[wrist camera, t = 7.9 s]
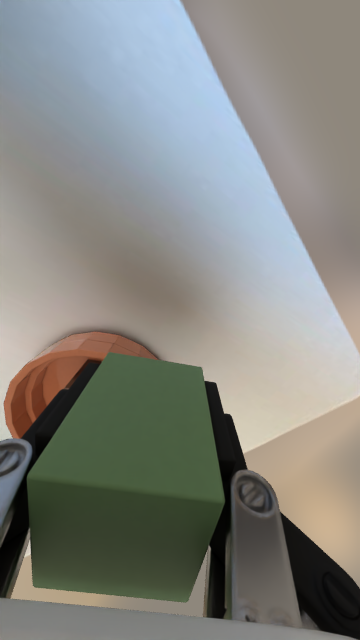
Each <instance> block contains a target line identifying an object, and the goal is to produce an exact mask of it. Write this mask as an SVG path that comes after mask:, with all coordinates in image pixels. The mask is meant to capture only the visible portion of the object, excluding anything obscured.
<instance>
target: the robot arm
mask: <svg viewBox="0 0 360 640" xmlns="http://www.w3.org/2000/svg"><path fill="white" fill-rule="evenodd" d="M99 366H100V364H96V363H88V364H87V366H86V367H85V368H84V370H83V371H82V372H81V374H80V375H79V376H78V377H77V379H76V380H75V381H74V383H73V384H72V385H71V387H70V388H69V389H68V390H67V389H62V390H60V391H59V392H58V393H57V395H56V396H55V397H54V398H53V399H52V401H51V402H50V403H49V404H48V406H47V407H46V408H45V409H44V410H43V412H42V413H41V414H40V415H39V417H38V418H37V419H36V420H35V421H34V423H33V424H32V425H31V426H30V428H29V429H28V430H27V431H26V433H25V434H24V435H23V436H22V437H21V439H17V438H13V439H6V440H3V441H0V640H360V589H359V587H358V586H357V584H356V583H355V582H354V580H353V579H352V578H351V577H350V576H349V575H348V574H347V573H346V572H345V571H344V570H343V569H342V568H341V567H340V566H339V565H338V564H337V563H336V562H335V561H334V560H333V559H331V558H330V557H329V556H328V555H327V554H326V553H325V552H323V550H322V549H321V548H319V547H318V546H317V545H316V544H315V543H314V542H313V541H312V540H311V539H310V538H309V537H307V536H306V535H305V534H304V533H303V532H302V531H301V530H300V529H298V527H296V526H295V525H294V524H293V523H292V522H291V521H290V520H289V519H288V518H286V516H284V515H283V514H282V513H281V512H280V510H279V504H278V500H277V497H276V494H275V492H274V490H273V488H272V487H271V485H270V484H269V483H268V482H267V481H266V480H265V479H264V478H263V477H262V476H260V475H259V474H257V473H255V472H253V471H249V470H248V469H247V466H246V462H245V459H244V456H243V452H242V449H241V446H240V442H239V439H238V435H237V432H236V429H235V425H234V422H233V419H232V416H231V415H230V414H224V412H223V408H222V404H221V400H220V396H219V392H218V388H217V385H216V383H215V382H209V381H204V382H205V388H206V394H207V400H208V405H209V411H210V417H211V423H212V428H213V434H214V440H215V446H216V451H217V457H218V463H219V469H220V474H221V480H222V486H223V492H224V497H225V503H224V506H223V509H222V512H221V514H220V517H219V520H218V522H217V525H216V528H215V530H214V533H213V536H212V538H211V541H210V544H209V546H208V553H207V554H208V555H207V567H206V582H205V595H204V610H203V617H196V616H186V615H176V614H167V613H156V612H146V611H135V610H125V609H115V608H104V607H94V606H84V605H83V606H82V605H72V604H63V603H52V602H42V601H30V600H19V599H10V598H11V595H12V592H13V589H14V586H15V583H16V580H17V577H18V573H19V570H20V567H21V564H22V561H23V558H24V555H25V552H26V549H27V546H28V543H29V540H30V525H29V507H28V490H27V476H28V474H29V472H30V470H31V469H32V467H33V466H34V464H35V463H36V461H37V460H38V458H39V457H40V455H41V454H42V452H43V451H44V449H45V448H46V446H47V445H48V443H49V442H50V440H51V439H52V437H53V436H54V434H55V433H56V431H57V430H58V428H59V426H60V425H61V423H62V422H63V420H64V419H65V417H66V416H67V414H68V413H69V411H70V410H71V408H72V407H73V405H74V404H75V402H76V401H77V399H78V398H79V396H80V395H81V393H82V392H83V390H84V389H85V387H86V385H87V384H88V382H89V381H90V379H91V378H92V376H93V375H94V373H95V372H96V370H97V369H98V367H99Z"/></svg>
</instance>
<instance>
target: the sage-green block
mask: <svg viewBox="0 0 360 640" xmlns="http://www.w3.org/2000/svg"><path fill="white" fill-rule="evenodd" d="M27 490H28V507H29V525H30V543H31V559H32V576H33V577H32V578H33V586H34V587H36V588H46V589H56V590H66V591H77V592H86V593H96V594H106V595H116V596H126V597H137V598H146V599H156V600H167V601H177V602H187V601H188V600H189V597H190V595H191V592H192V589H193V586H194V584H195V581H196V579H197V576H198V573H199V571H200V568H201V565H202V563H203V560H204V557H205V554H206V552H207V549H208V546H209V544H210V541H211V538H212V536H213V533H214V530H215V528H216V525H217V522H218V520H219V517H220V514H221V512H222V509H223V506H224V503H225V497H224V492H223V486H222V480H221V474H220V469H219V463H218V457H217V451H216V446H215V440H214V434H213V428H212V423H211V417H210V411H209V405H208V400H207V394H206V388H205V382H204V377H203V371H202V368H201V367H197V366H191V365H185V364H179V363H173V362H167V361H161V360H155V359H149V358H143V357H137V356H130V355H124V354H118V353H112V352H108V354H107V355H106V357H105V358H104V360H103V361H102V363H101V364H100V366H99V367H98V369H97V370H96V372H95V373H94V375H93V376H92V378H91V379H90V381H89V382H88V384H87V385H86V387H85V389H84V390H83V392H82V393H81V395H80V396H79V398H78V399H77V401H76V402H75V404H74V405H73V407H72V408H71V410H70V411H69V413H68V414H67V416H66V417H65V419H64V420H63V422H62V423H61V425H60V426H59V428H58V430H57V431H56V433H55V434H54V436H53V437H52V439H51V440H50V442H49V443H48V445H47V446H46V448H45V449H44V451H43V452H42V454H41V455H40V457H39V458H38V460H37V461H36V463H35V464H34V466H33V467H32V469H31V470H30V472H29V474H28V476H27Z"/></svg>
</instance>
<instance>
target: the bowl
mask: <svg viewBox="0 0 360 640" xmlns="http://www.w3.org/2000/svg"><path fill="white" fill-rule="evenodd" d="M108 352H112V353H118V354H124V355H130V356H137V357H143V358H149V359H155V360H158V359H157V358H156V357H155V356H154V355H152V354H151V353H150V352H149V351H148V350H147V349H146V348H144V347H143V346H142V345H140V344H138V343H135V342H133V341H131V340H129V339H127V338H124V337H122V336H120V335H115V334H108V333H101V332H89V333H82V334H75V335H70V336H68V337H66V338H64V339H62V340H60V341H58V342H56V343H54V344H52V345H51V346H49V347H48V348H47V349H45V350H44V351H43V352H41V353H40V354H39V355H38V356H36V357H35V358H34V359H32V360H31V361H30V362H28V363H27V364H26V365H25V366H24V367H23V368H22V369H21V370H20V371H19V373H18V374H17V375H16V376H15V377H14V378H13V379H12V380H11V382H10V385H9V388H8V391H7V394H6V397H5V401H4V411H5V420H6V425H7V427H8V429H9V431H10V433H11V435H12V437H13V438H17V439H21V437H22V436H23V435H24V434H25V433H26V431H27V430H28V429H29V428H30V426H31V425H32V424H33V423H34V421H35V420H36V419H37V418H38V417H39V415H40V414H41V413H42V412H43V410H44V409H45V408H46V407H47V406H48V404H49V403H50V402H51V401H52V399H53V398H54V397H55V396H56V395H57V393H58V392H59V391H60V390H62V389H64V388H65V386H66V385H67V384H68V383H69V381H70V380H71V379H72V378H73V377H74V375H75V374H76V373H77V372H78V370H79V369H80V368H81V367H82V366H83V364H84V363H85V362H86V361H87V360H88V359H89V360H96V361H103V360H104V358H105V357H106V355H107V354H108Z"/></svg>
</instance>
